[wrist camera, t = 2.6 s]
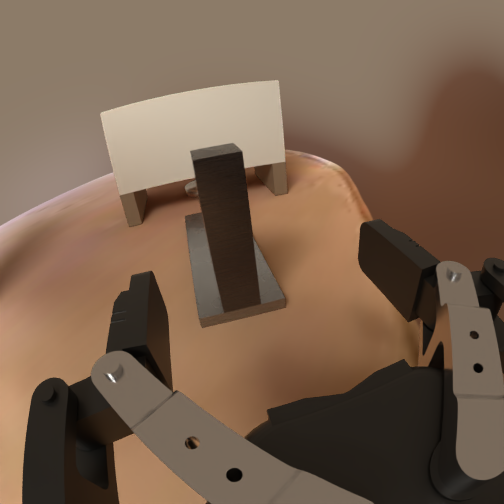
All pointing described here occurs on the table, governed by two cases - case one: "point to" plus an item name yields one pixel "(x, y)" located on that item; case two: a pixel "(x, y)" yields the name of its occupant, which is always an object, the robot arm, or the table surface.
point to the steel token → (191, 189)
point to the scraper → (226, 243)
